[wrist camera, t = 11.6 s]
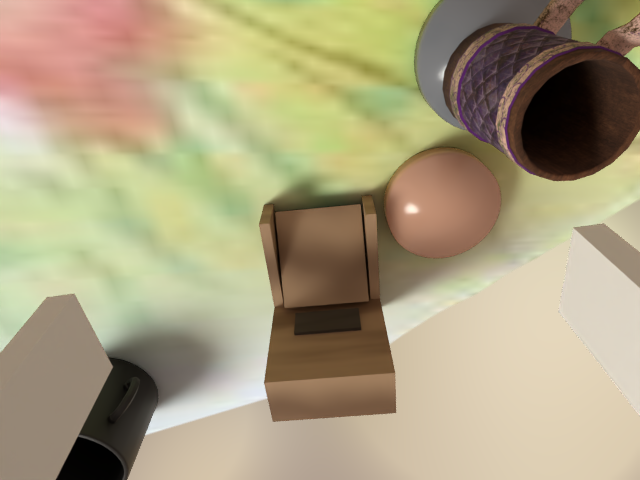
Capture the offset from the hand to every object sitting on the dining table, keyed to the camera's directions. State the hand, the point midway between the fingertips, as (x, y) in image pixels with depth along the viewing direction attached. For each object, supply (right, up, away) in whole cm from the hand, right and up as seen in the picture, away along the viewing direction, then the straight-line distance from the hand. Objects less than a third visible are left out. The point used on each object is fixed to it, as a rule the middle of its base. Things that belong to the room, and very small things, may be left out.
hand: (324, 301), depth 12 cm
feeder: (0, 0, +28) cm, 28 cm away
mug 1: (-21, -13, +35) cm, 43 cm away
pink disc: (+10, +5, +25) cm, 27 cm away
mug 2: (+12, +14, +18) cm, 26 cm away
